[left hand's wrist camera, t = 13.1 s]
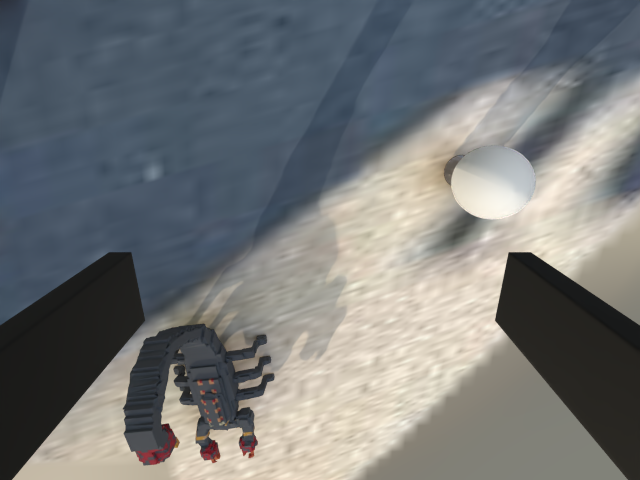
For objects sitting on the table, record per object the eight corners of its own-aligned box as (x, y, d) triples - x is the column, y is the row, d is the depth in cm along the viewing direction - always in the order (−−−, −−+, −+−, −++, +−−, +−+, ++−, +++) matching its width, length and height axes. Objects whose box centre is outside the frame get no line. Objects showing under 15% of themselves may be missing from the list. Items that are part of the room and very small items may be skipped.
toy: (253, 274, 44) (209, 380, 27) (286, 433, 53) (270, 588, 36) (148, 286, 44) (40, 397, 27) (199, 441, 53) (142, 598, 36)
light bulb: (422, 187, 40) (458, 213, 30) (452, 129, 38) (501, 137, 27) (473, 209, 41) (525, 242, 30) (505, 154, 39) (573, 170, 28)
